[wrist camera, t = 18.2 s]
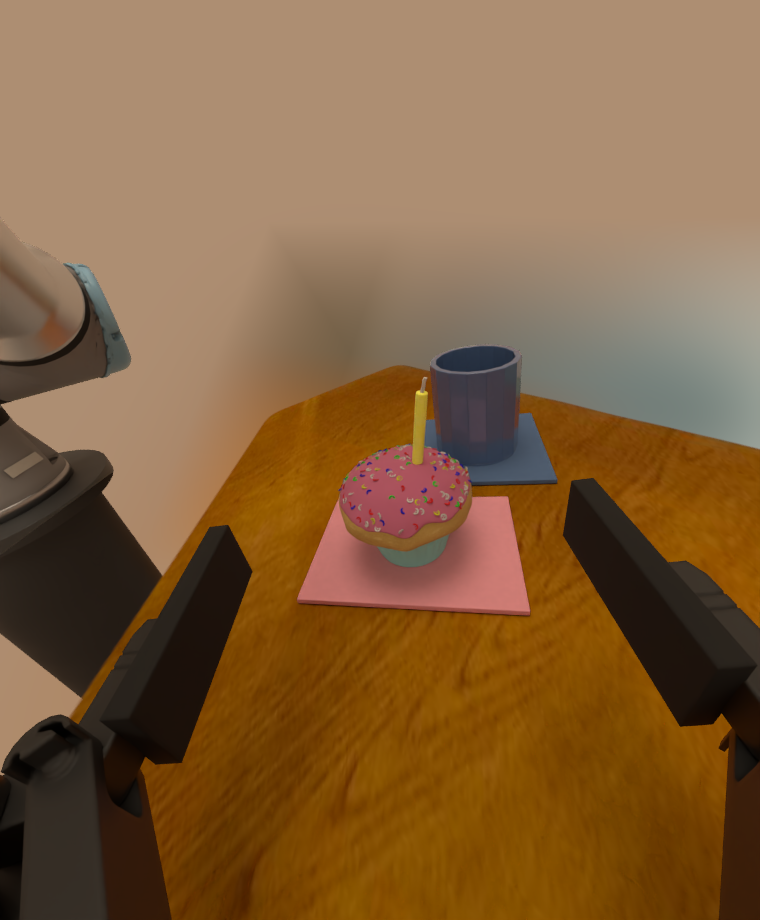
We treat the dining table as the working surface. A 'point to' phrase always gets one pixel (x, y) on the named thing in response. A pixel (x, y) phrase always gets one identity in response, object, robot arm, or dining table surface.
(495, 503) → the rose mat
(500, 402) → the blue cup
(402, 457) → the cupcake
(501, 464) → the blue mat
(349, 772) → the dining table surface
